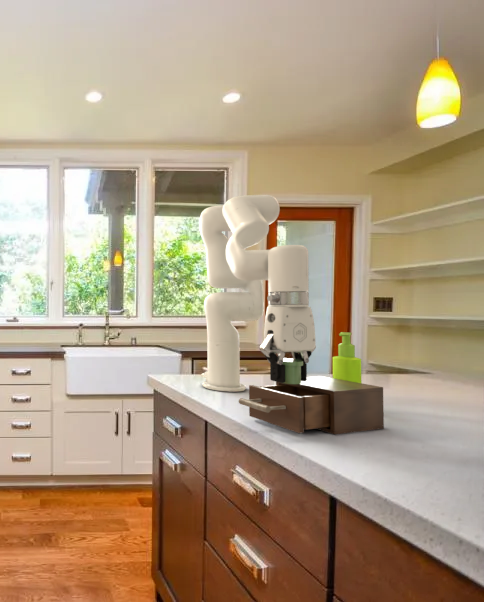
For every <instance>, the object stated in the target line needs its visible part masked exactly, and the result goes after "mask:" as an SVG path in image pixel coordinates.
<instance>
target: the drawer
mask: <svg viewBox="0 0 484 602" xmlns="http://www.w3.org/2000/svg"><path fill="white" fill-rule="evenodd" d="M248 391H249V392H248V396H249V397H248V399H246V398H244V397H240V398H239V399H238V404H239V405H241V406H245V407H248V411H249V414H248V415H249V417H251V418H254V419H257V420H260V421H263V422H265V423H269V424H271V425H274V426H277V427H280V428H283V429H286V430H289V431H291V432H295V433H297V434H304V433H305V431H306V430H314V429H315V428H323V427H331V411H330V394H327V393H322V392H318V391H313V390H309V389H304V388H300V387H295V386H291V385H286V384H283V385H276V384H272V385H260V386H259V385H255V384H249V385H248Z"/></svg>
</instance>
